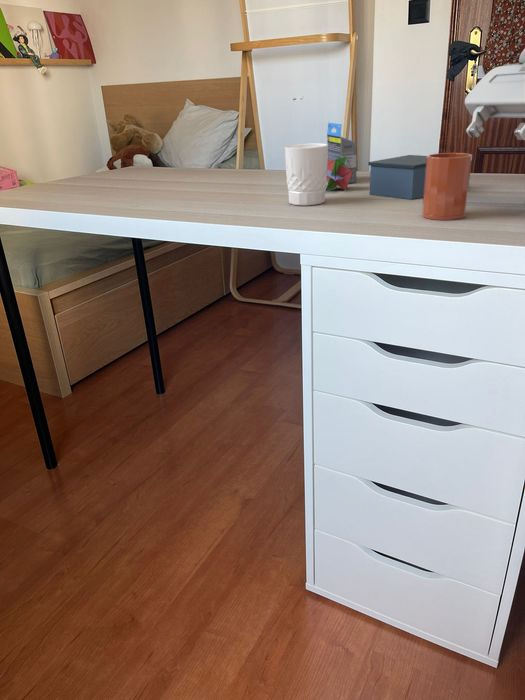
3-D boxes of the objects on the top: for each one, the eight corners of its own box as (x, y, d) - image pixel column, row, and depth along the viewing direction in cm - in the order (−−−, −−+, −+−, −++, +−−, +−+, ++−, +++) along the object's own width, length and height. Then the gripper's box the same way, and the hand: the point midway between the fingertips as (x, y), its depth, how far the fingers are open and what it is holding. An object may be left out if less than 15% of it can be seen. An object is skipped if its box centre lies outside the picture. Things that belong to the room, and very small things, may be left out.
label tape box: (357, 183, 116) (358, 122, 111) (339, 184, 115) (340, 123, 110) (342, 177, 124) (343, 121, 118) (326, 179, 123) (326, 122, 118)
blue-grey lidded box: (407, 185, 110) (409, 154, 107) (452, 190, 103) (455, 157, 100) (367, 194, 103) (368, 162, 101) (412, 200, 96) (414, 165, 93)
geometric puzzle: (367, 177, 108) (347, 144, 108) (349, 182, 103) (329, 147, 103) (342, 197, 113) (323, 165, 113) (325, 203, 108) (305, 169, 108)
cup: (437, 209, 87) (443, 152, 83) (473, 214, 83) (480, 154, 79) (413, 216, 84) (418, 156, 80) (449, 222, 79) (455, 158, 75)
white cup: (335, 203, 97) (336, 145, 92) (296, 208, 94) (295, 148, 90) (316, 196, 103) (315, 142, 99) (279, 201, 101) (277, 146, 97)
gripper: (489, 50, 86) (436, 119, 87) (610, 35, 69) (542, 121, 70) (506, 80, 89) (455, 146, 90) (624, 72, 72) (560, 154, 73)
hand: (494, 135), depth 80 cm, fingers open, 8 cm apart
